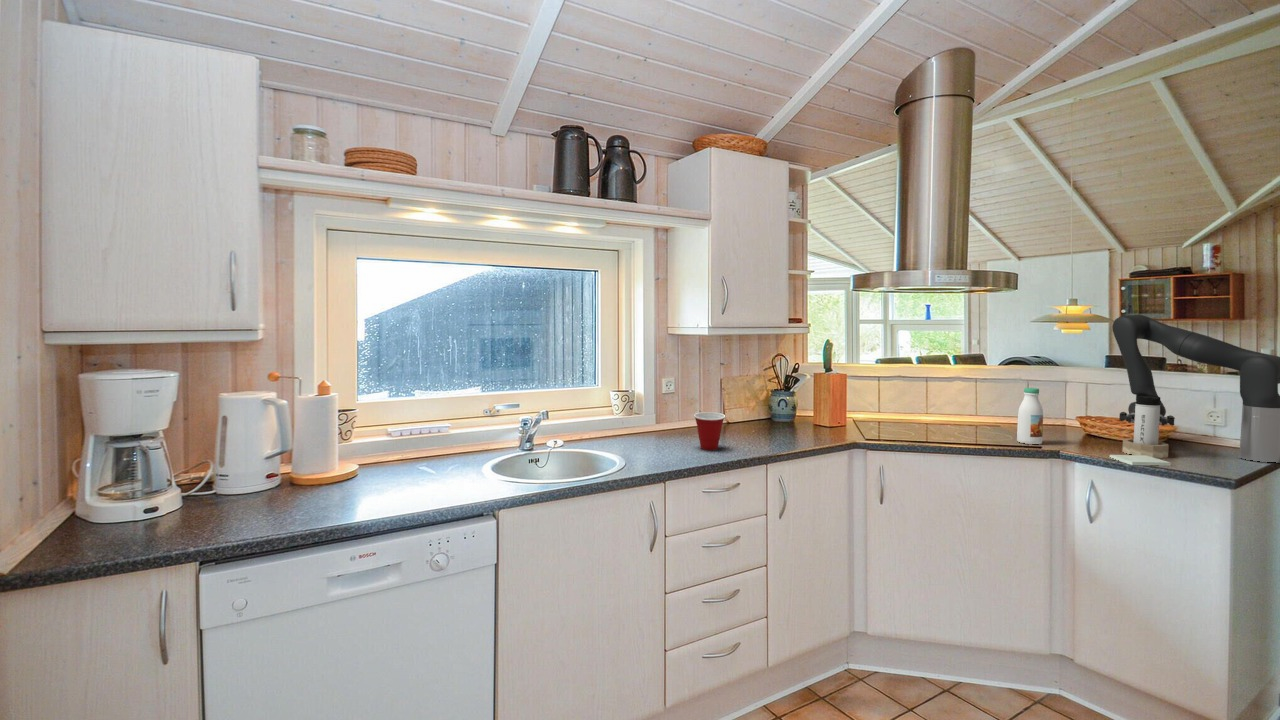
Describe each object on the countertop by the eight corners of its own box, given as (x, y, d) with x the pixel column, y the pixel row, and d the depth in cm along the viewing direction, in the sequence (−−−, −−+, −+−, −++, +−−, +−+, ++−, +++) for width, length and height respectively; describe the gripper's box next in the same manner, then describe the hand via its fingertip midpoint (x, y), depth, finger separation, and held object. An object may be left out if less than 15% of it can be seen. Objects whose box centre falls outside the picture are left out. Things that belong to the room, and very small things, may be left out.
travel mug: (1147, 452, 203) (1150, 393, 202) (1162, 456, 196) (1165, 395, 195) (1127, 451, 204) (1130, 393, 202) (1141, 456, 197) (1145, 395, 196)
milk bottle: (1020, 444, 216) (1022, 389, 215) (1014, 440, 223) (1016, 386, 222) (1045, 445, 214) (1047, 389, 212) (1037, 441, 221) (1040, 387, 220)
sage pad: (1146, 458, 193) (1146, 455, 193) (1170, 465, 184) (1170, 462, 183) (1109, 457, 194) (1109, 454, 194) (1132, 465, 184) (1132, 461, 184)
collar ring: (1150, 450, 205) (1150, 439, 205) (1176, 458, 194) (1177, 446, 194) (1114, 450, 206) (1115, 438, 206) (1139, 457, 195) (1139, 445, 195)
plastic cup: (694, 451, 202) (694, 416, 202) (692, 445, 213) (692, 411, 213) (726, 452, 202) (727, 416, 201) (723, 445, 213) (723, 412, 212)
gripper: (1121, 403, 216) (1119, 407, 204) (1174, 406, 207) (1175, 411, 195) (1120, 423, 217) (1118, 429, 204) (1172, 428, 208) (1174, 434, 195)
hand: (1146, 421), depth 200 cm, fingers open, 8 cm apart
